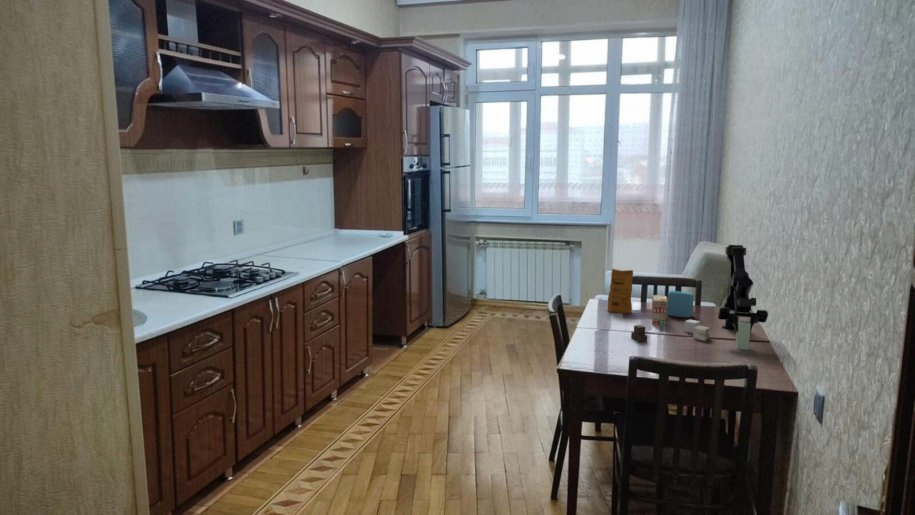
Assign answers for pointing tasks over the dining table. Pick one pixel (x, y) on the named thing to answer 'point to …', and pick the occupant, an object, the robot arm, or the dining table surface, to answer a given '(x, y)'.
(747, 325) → the sage green block
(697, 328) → the oatmeal cube
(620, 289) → the coffee package
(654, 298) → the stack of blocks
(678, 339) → the dining table surface
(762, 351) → the dining table surface
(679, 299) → the light blue box
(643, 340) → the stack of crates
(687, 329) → the light grey cube
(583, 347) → the dining table surface
